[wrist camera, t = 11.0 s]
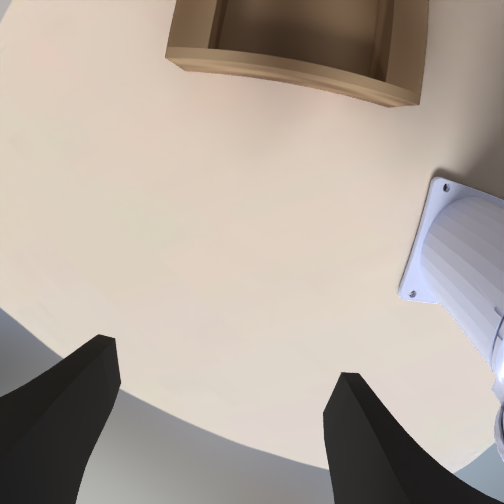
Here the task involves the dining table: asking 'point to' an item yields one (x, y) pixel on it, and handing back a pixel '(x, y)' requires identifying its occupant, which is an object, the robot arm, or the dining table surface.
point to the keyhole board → (308, 44)
